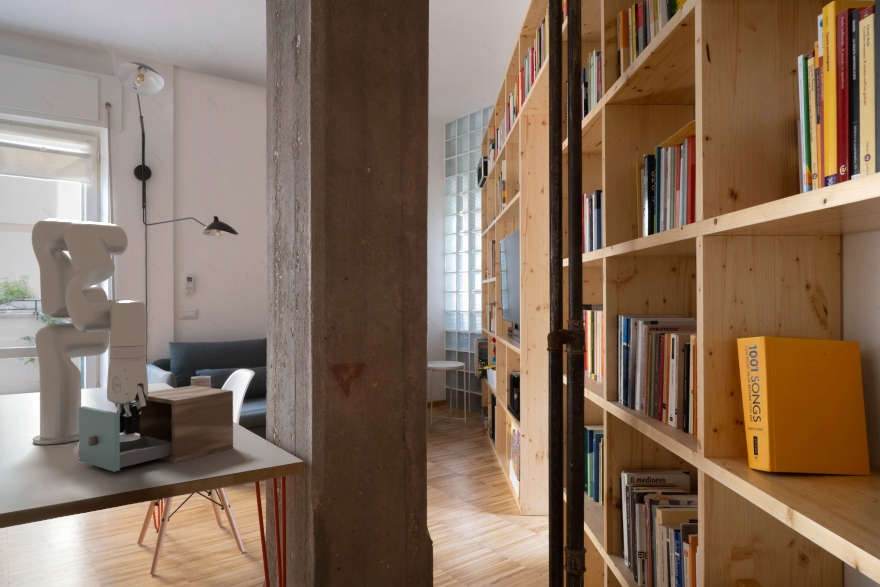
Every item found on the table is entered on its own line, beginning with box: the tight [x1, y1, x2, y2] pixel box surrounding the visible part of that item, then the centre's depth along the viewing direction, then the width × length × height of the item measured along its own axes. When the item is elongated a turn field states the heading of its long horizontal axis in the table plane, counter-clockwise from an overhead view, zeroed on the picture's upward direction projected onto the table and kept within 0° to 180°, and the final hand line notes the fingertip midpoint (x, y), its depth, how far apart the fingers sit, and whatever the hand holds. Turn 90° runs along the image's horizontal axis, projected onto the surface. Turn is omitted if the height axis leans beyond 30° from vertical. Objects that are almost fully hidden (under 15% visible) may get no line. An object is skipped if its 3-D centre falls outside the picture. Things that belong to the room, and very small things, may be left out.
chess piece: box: [120, 404, 141, 442], centre depth 134 cm, size 5×5×10 cm
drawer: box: [78, 405, 172, 472], centre depth 134 cm, size 16×16×12 cm
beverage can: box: [190, 375, 212, 388], centre depth 172 cm, size 6×6×15 cm
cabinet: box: [134, 385, 234, 463], centre depth 146 cm, size 17×16×15 cm
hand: (128, 431), depth 134 cm, fingers closed on chess piece
